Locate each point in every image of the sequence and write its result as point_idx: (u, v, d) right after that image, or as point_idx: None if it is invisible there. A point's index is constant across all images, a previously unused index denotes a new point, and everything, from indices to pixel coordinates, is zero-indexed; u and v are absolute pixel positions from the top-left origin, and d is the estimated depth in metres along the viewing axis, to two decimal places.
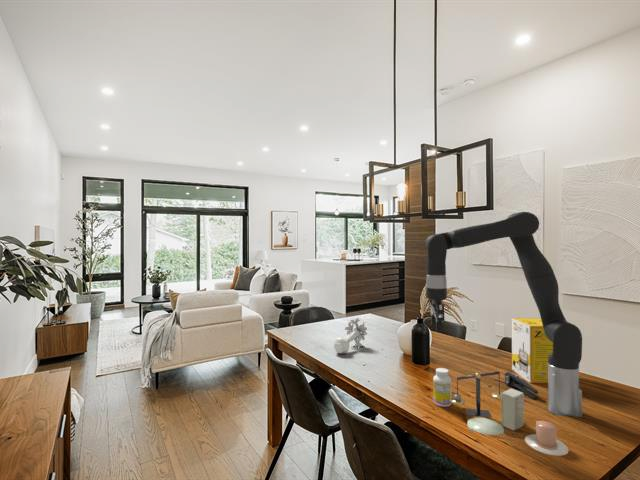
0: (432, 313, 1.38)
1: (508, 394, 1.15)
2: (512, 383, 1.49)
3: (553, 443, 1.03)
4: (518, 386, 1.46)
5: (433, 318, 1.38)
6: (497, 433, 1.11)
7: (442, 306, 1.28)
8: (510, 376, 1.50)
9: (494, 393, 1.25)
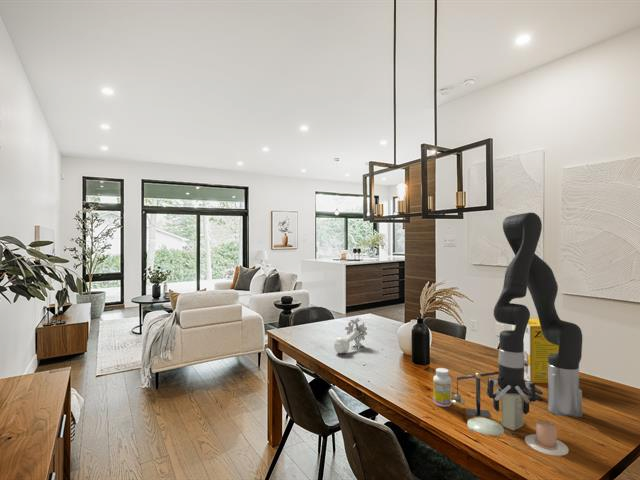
0: (500, 396, 1.17)
1: (508, 394, 1.15)
2: None
3: (553, 443, 1.03)
4: None
5: None
6: (497, 433, 1.11)
7: None
8: None
9: None
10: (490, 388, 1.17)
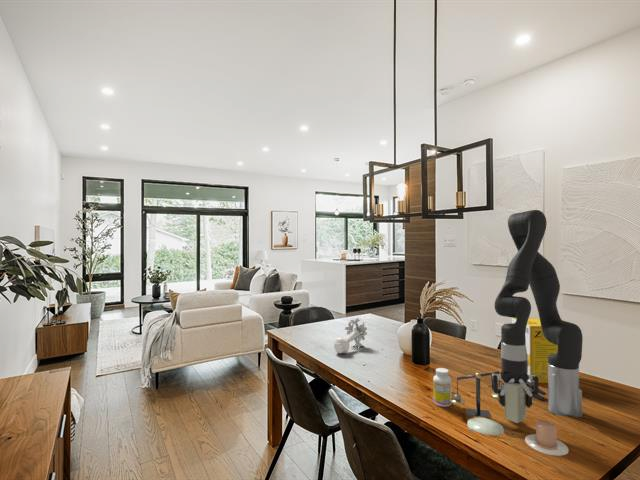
0: (505, 391, 1.16)
1: (510, 384, 1.14)
2: None
3: (553, 443, 1.03)
4: None
5: None
6: (497, 433, 1.11)
7: None
8: None
9: (494, 393, 1.25)
10: (494, 383, 1.16)
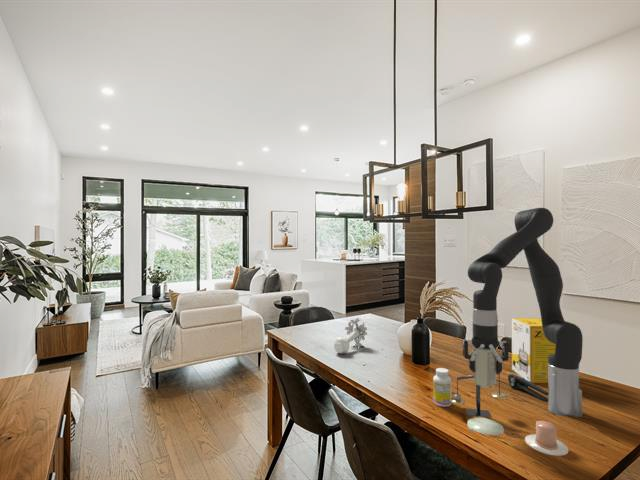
0: (475, 356, 1.16)
1: (480, 349, 1.14)
2: (518, 385, 1.47)
3: (553, 443, 1.03)
4: (525, 388, 1.44)
5: None
6: (497, 433, 1.11)
7: None
8: (515, 378, 1.48)
9: (494, 393, 1.25)
10: (465, 349, 1.16)
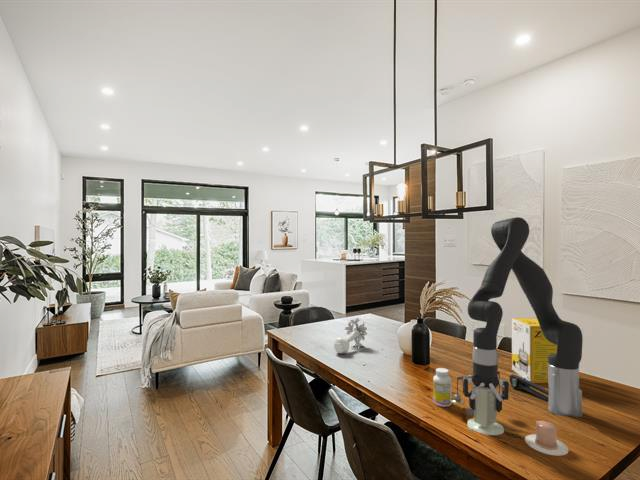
0: (475, 394, 1.16)
1: (480, 388, 1.14)
2: (520, 386, 1.46)
3: (553, 443, 1.03)
4: (527, 389, 1.43)
5: None
6: (497, 433, 1.11)
7: None
8: (517, 379, 1.47)
9: None
10: (465, 387, 1.16)
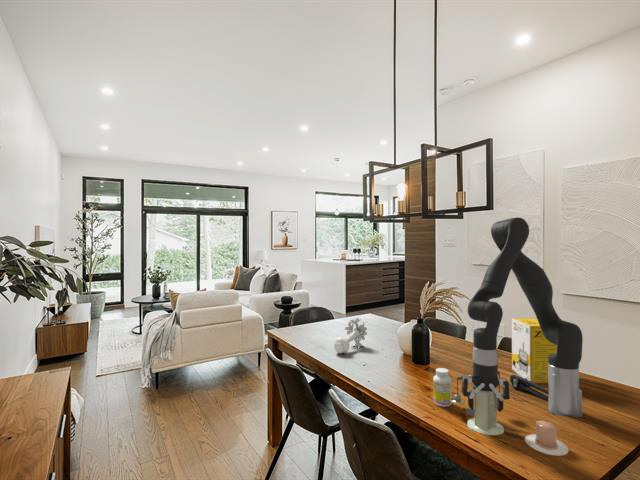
0: (474, 394, 1.16)
1: (481, 391, 1.14)
2: (521, 386, 1.46)
3: (553, 443, 1.03)
4: (529, 389, 1.43)
5: None
6: (497, 433, 1.11)
7: None
8: (518, 379, 1.47)
9: None
10: (464, 386, 1.16)
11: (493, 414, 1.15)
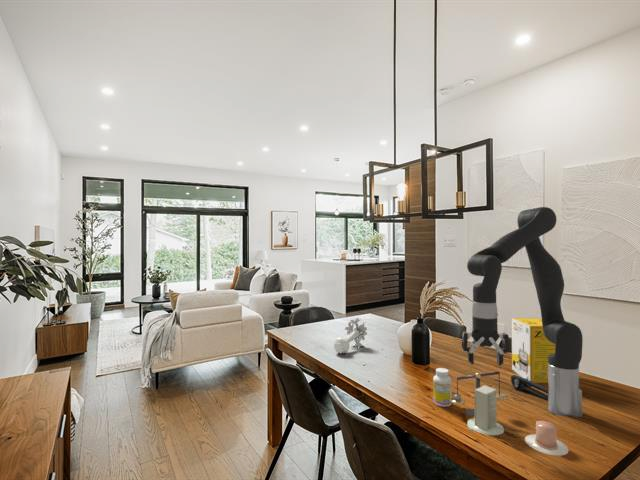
0: (474, 349, 1.16)
1: (481, 391, 1.14)
2: (522, 386, 1.46)
3: (553, 443, 1.03)
4: (530, 389, 1.43)
5: None
6: (497, 433, 1.11)
7: None
8: (519, 379, 1.47)
9: None
10: (464, 341, 1.16)
11: (493, 414, 1.15)
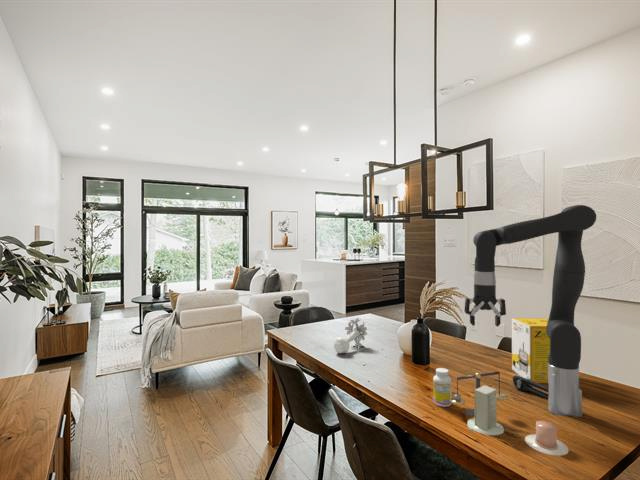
0: (475, 312, 1.34)
1: (481, 391, 1.14)
2: (524, 387, 1.45)
3: (553, 443, 1.03)
4: (533, 389, 1.42)
5: None
6: (497, 433, 1.11)
7: None
8: (521, 380, 1.46)
9: None
10: (467, 305, 1.34)
11: (493, 414, 1.15)
